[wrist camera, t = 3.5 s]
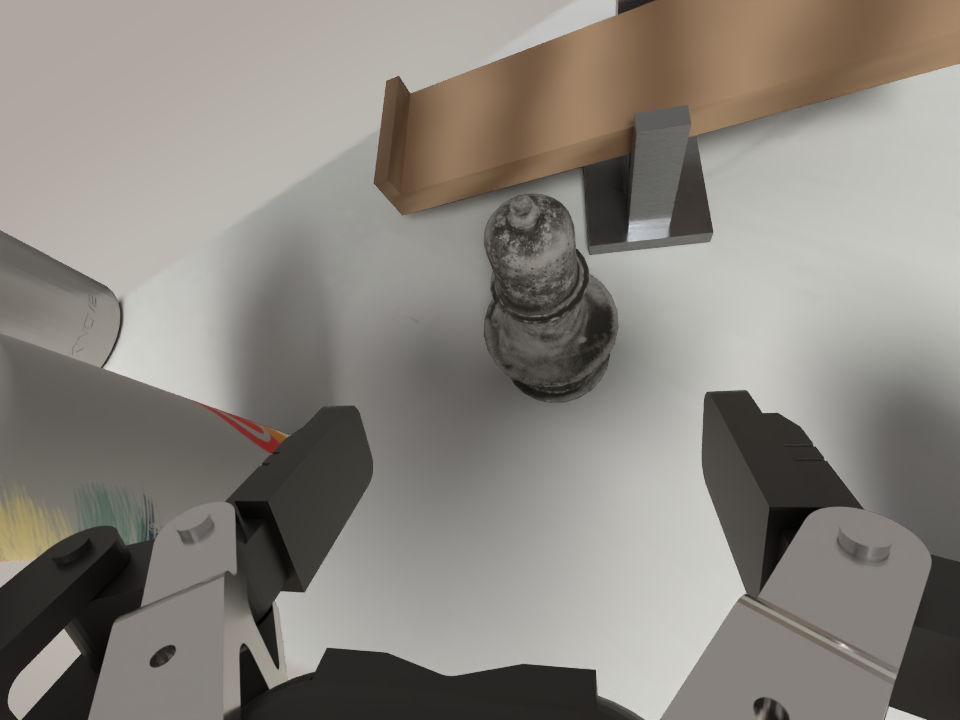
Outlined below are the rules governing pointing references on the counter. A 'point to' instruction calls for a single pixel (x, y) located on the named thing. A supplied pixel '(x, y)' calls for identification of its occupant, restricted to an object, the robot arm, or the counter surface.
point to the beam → (646, 86)
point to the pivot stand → (649, 184)
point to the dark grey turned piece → (545, 302)
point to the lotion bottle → (107, 452)
